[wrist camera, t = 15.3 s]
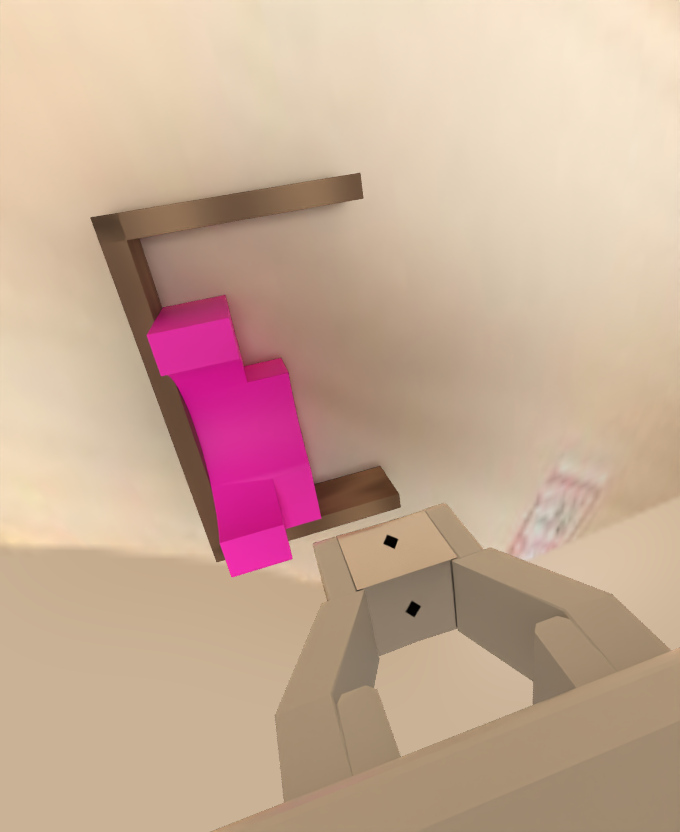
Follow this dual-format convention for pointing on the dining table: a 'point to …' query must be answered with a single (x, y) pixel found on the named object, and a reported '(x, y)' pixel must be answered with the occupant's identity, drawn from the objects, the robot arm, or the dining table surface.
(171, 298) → the dining table surface
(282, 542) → the toy block
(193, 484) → the walnut bay
